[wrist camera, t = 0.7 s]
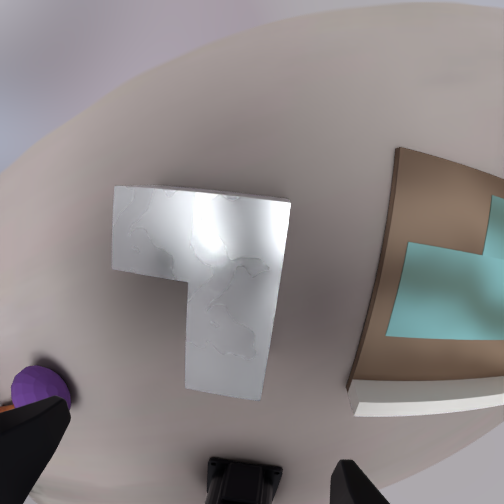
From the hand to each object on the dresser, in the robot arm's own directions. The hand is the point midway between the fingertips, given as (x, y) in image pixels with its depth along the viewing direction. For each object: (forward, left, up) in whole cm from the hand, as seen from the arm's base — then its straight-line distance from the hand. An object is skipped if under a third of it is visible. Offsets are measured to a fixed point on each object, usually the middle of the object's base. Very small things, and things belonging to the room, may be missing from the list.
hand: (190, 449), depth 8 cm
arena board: (+3, -16, -12) cm, 20 cm away
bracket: (+2, +2, -12) cm, 12 cm away
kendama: (-16, +22, -12) cm, 30 cm away
